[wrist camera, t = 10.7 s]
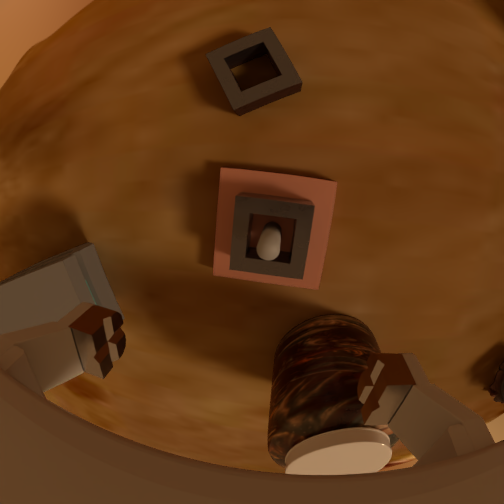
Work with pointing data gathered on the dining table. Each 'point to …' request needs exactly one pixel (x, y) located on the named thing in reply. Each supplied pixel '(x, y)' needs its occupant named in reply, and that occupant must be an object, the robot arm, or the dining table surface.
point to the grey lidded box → (54, 289)
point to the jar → (324, 401)
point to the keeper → (273, 222)
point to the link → (285, 261)
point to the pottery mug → (498, 385)
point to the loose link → (250, 50)
